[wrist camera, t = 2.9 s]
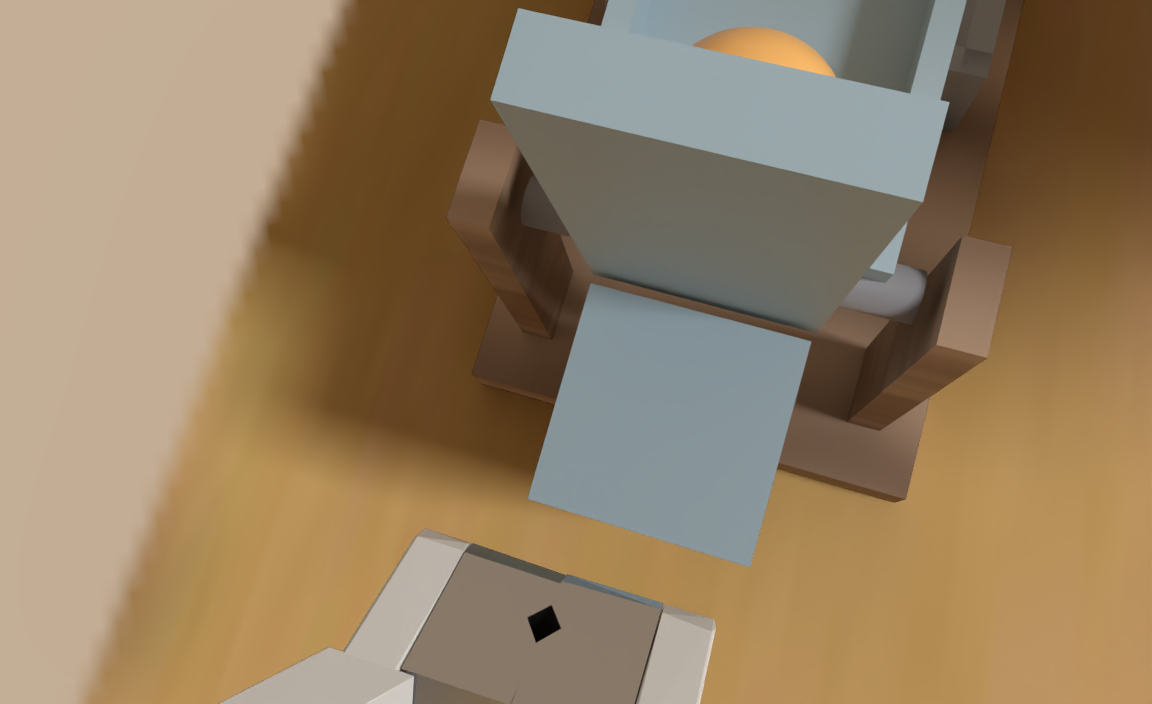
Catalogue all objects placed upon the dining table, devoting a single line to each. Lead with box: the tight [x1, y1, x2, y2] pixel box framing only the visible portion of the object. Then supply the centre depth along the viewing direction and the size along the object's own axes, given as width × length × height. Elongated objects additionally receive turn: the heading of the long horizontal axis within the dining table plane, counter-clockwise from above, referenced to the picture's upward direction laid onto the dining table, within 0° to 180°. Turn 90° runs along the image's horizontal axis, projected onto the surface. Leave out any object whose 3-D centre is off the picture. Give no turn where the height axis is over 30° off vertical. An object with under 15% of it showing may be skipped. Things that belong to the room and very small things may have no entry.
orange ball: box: [692, 26, 836, 77], centre depth 19 cm, size 4×4×4 cm
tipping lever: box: [490, 0, 967, 567], centre depth 19 cm, size 18×9×16 cm, turn 163°
